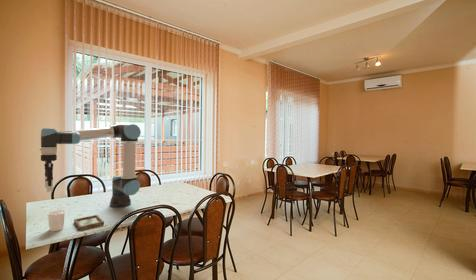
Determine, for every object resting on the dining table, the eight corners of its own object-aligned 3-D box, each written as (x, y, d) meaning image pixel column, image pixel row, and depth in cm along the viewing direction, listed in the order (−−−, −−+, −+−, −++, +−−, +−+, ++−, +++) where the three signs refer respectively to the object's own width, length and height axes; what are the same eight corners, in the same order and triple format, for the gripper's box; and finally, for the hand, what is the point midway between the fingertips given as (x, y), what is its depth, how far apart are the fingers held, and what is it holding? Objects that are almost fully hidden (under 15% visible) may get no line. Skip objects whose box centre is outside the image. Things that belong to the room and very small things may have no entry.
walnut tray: (97, 217, 161) (97, 214, 161) (103, 225, 150) (103, 221, 150) (74, 222, 152) (74, 219, 152) (79, 230, 141) (79, 226, 141)
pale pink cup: (44, 230, 140) (44, 213, 139) (59, 225, 147) (59, 209, 147) (53, 232, 137) (53, 215, 137) (67, 227, 144) (67, 211, 144)
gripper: (39, 152, 150) (39, 186, 151) (42, 156, 131) (41, 194, 132) (54, 152, 155) (54, 184, 156) (59, 155, 136) (58, 192, 137)
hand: (48, 189), depth 144 cm, fingers open, 13 cm apart
